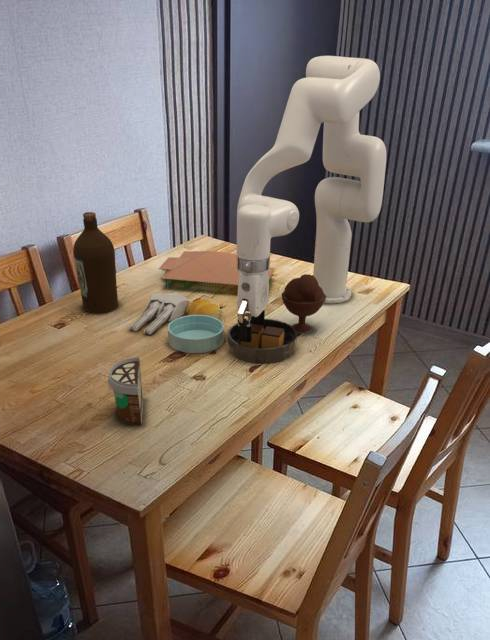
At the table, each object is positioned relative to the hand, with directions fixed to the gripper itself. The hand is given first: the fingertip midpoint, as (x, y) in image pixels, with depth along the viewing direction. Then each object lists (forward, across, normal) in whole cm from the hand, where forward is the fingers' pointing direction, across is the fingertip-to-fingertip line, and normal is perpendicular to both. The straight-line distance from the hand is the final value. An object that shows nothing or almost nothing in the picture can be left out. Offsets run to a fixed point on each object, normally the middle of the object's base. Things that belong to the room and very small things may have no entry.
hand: (251, 332), depth 161 cm
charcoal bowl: (+4, 0, -3) cm, 5 cm away
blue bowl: (+4, -2, +14) cm, 15 cm away
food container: (+5, -36, +15) cm, 40 cm away
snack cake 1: (+4, 0, 0) cm, 4 cm away
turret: (+4, +8, +28) cm, 29 cm away
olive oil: (+4, +10, +47) cm, 48 cm away
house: (+4, +40, +24) cm, 46 cm away
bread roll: (+4, +13, +18) cm, 23 cm away
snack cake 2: (+4, 0, -5) cm, 6 cm away
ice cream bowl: (+4, +14, -9) cm, 17 cm away
